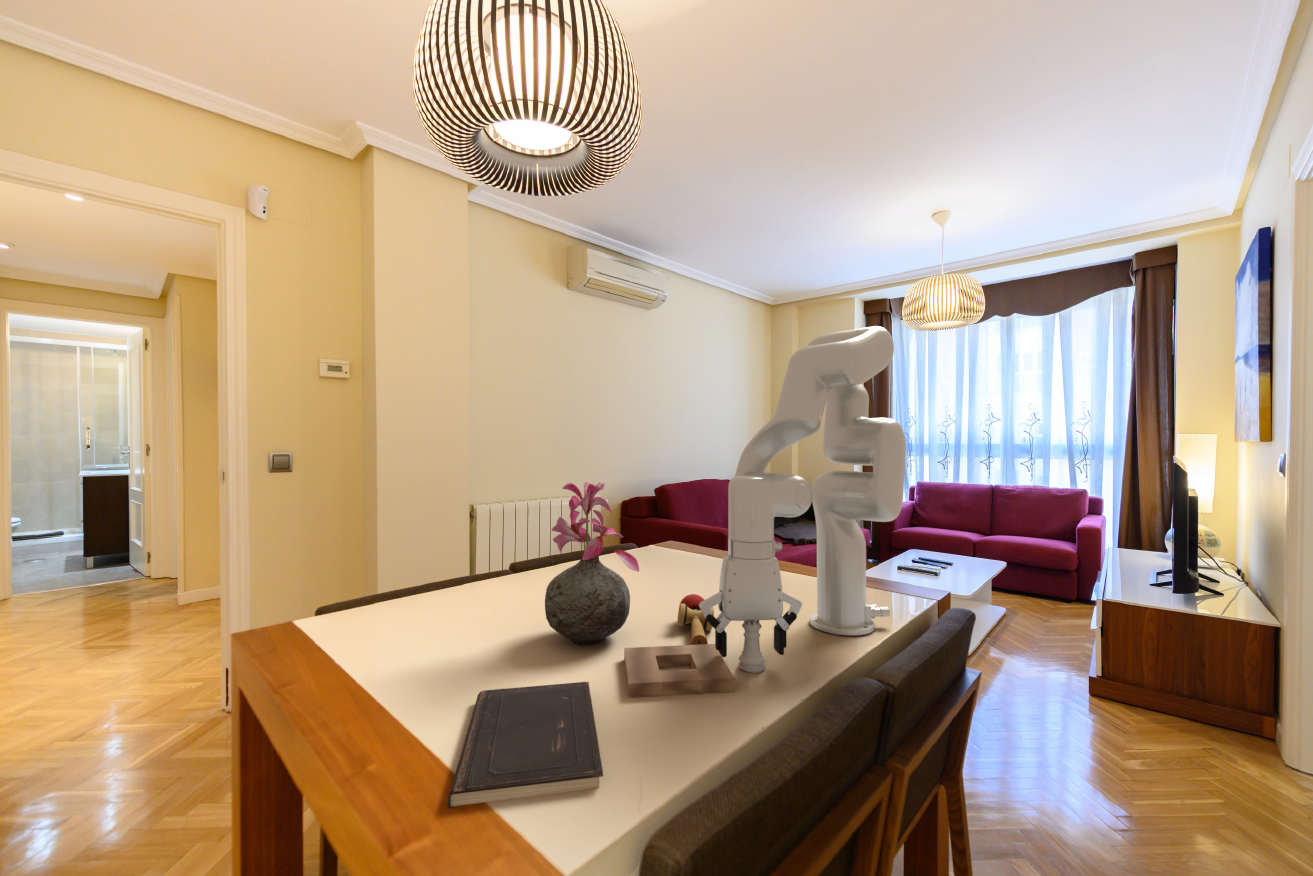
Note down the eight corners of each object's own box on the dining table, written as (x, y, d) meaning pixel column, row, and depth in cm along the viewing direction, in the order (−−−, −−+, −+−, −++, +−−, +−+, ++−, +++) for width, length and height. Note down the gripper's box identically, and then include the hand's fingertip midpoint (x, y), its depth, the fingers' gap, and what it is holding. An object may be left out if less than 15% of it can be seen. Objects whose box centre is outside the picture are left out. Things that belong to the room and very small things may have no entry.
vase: (540, 629, 109) (539, 481, 110) (623, 620, 115) (622, 478, 115) (550, 660, 93) (549, 487, 94) (646, 648, 99) (645, 484, 99)
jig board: (714, 655, 95) (714, 643, 95) (734, 691, 81) (734, 678, 81) (624, 659, 94) (624, 648, 94) (628, 697, 80) (628, 683, 80)
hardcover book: (588, 696, 81) (588, 681, 81) (603, 794, 59) (603, 773, 59) (477, 706, 78) (477, 690, 78) (447, 814, 56) (447, 791, 56)
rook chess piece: (735, 663, 92) (735, 616, 92) (761, 662, 92) (761, 615, 92) (742, 674, 87) (741, 625, 88) (769, 673, 88) (768, 624, 88)
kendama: (725, 657, 98) (713, 612, 116) (719, 624, 97) (707, 584, 115) (683, 664, 98) (677, 619, 116) (677, 632, 97) (672, 591, 115)
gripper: (792, 545, 95) (792, 643, 94) (695, 546, 93) (695, 646, 93) (809, 553, 87) (809, 660, 87) (704, 555, 85) (703, 664, 85)
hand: (750, 653), depth 90 cm, fingers open, 9 cm apart
